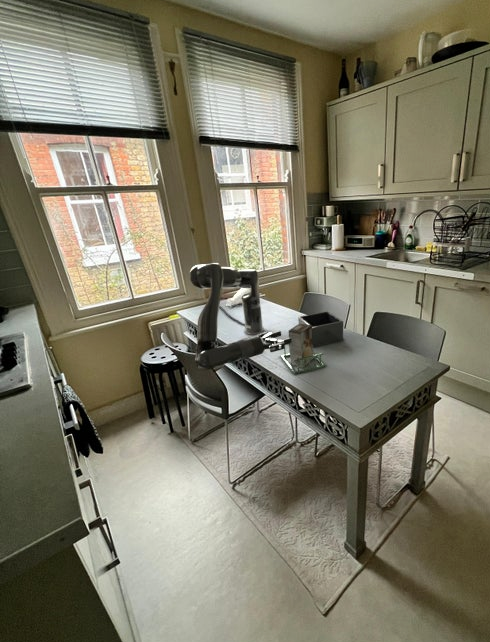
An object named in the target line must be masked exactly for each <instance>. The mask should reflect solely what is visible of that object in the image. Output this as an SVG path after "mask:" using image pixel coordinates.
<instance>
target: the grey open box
mask: <svg viewBox="0 0 490 642" xmlns="http://www.w3.org/2000/svg"><path fill="white" fill-rule="evenodd" d="M297 318H298V320H297V321H298V324H299V323H301V324H307V325H312V335H313V348H315V347H320V346H324V345H329V344H333V343H336V342H337V343H338V342H342V341H344V321H343V320H342V319H341V318H339V317H337V316H336V315H334V313H331V312H330V311H328V310H327V311H321V312H316V313H310V314H306V315H300V316H298V317H297Z"/></svg>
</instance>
